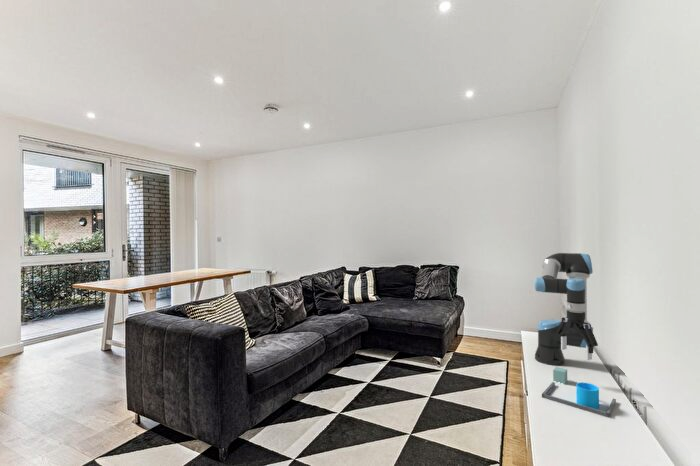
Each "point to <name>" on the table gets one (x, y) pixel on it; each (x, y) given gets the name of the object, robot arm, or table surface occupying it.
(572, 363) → the table surface
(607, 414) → the tray frame
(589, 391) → the mug
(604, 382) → the table surface
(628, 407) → the table surface
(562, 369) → the block
